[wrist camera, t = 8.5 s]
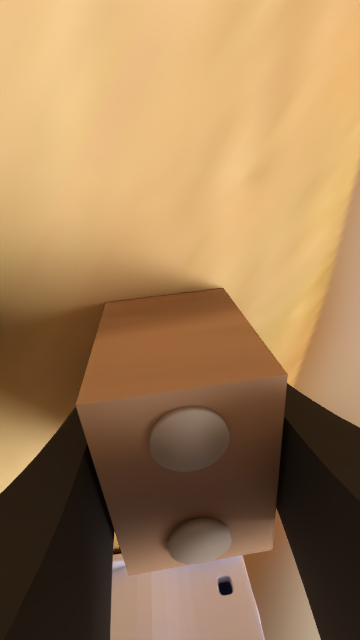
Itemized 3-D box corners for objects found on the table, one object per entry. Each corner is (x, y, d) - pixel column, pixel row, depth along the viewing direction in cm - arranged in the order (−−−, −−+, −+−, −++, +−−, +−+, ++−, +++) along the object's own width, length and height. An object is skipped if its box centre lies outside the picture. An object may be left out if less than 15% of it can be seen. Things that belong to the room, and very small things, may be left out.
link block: (105, 302, 10) (73, 413, 5) (223, 288, 10) (292, 380, 6) (133, 433, 13) (128, 585, 8) (226, 419, 13) (274, 557, 8)
